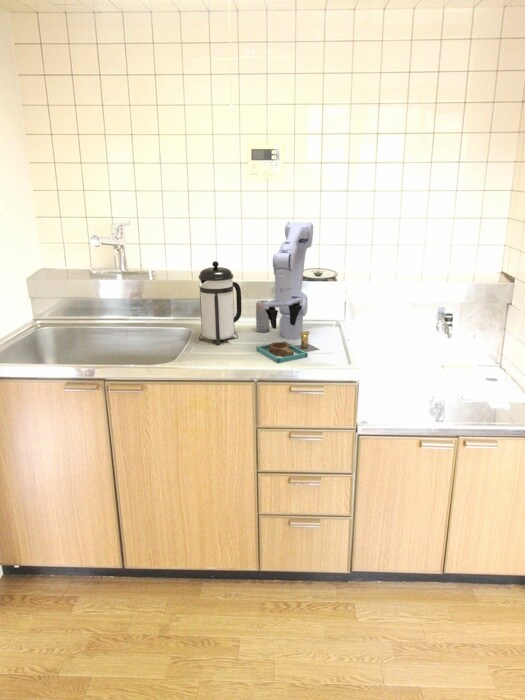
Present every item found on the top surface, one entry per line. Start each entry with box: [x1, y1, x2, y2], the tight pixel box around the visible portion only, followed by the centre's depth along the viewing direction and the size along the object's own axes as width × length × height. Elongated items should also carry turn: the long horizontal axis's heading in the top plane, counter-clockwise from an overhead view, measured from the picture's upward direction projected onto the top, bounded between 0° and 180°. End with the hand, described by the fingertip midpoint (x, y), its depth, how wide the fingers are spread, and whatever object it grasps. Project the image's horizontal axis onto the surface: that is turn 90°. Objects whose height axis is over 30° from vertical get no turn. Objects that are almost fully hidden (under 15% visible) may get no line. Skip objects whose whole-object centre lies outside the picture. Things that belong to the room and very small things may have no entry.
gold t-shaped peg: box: [300, 330, 310, 349], centre depth 182 cm, size 2×3×6 cm
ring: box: [268, 341, 295, 358], centre depth 177 cm, size 11×7×3 cm, turn 29°
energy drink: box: [255, 300, 271, 334], centre depth 205 cm, size 5×5×12 cm
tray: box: [256, 341, 309, 364], centre depth 178 cm, size 15×12×2 cm
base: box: [294, 343, 321, 353], centre depth 183 cm, size 8×8×1 cm
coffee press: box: [198, 260, 242, 346], centre depth 194 cm, size 17×16×30 cm
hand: (283, 326), depth 180 cm, fingers open, 7 cm apart
